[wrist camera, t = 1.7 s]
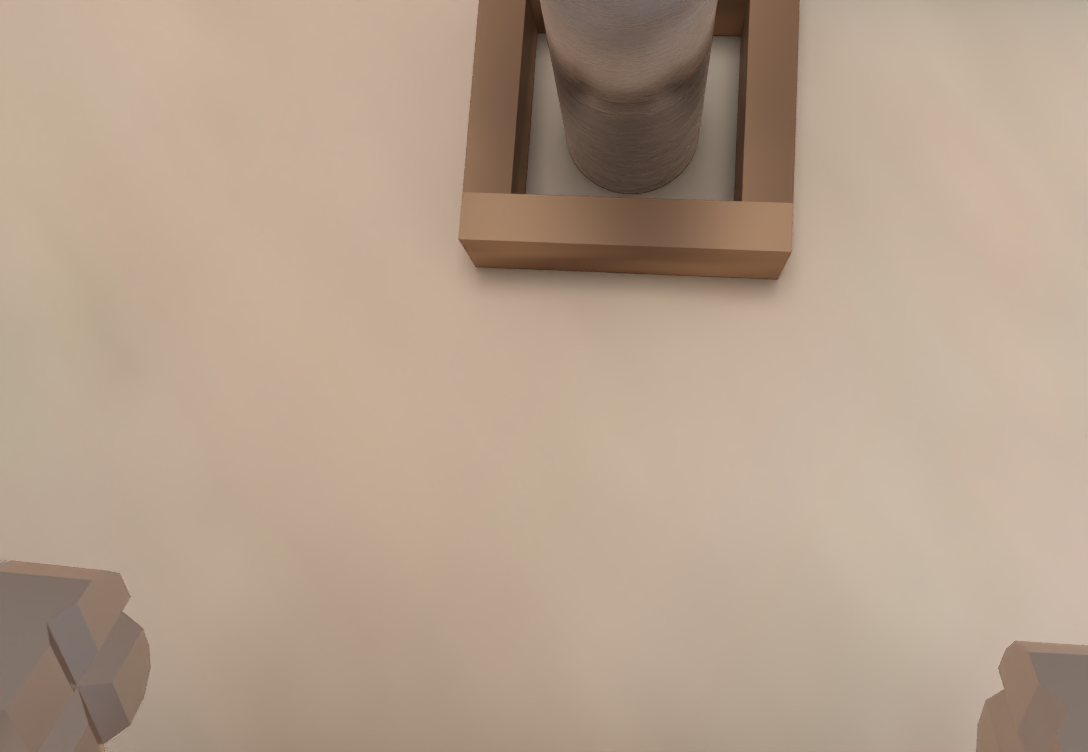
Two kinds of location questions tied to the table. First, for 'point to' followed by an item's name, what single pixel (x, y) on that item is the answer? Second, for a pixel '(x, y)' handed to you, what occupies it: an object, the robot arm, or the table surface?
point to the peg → (630, 85)
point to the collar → (631, 223)
